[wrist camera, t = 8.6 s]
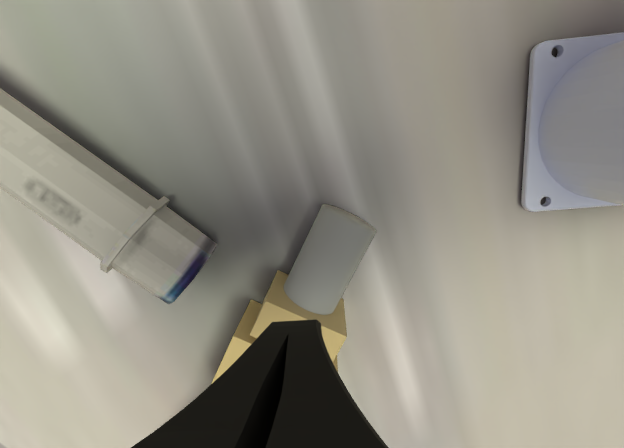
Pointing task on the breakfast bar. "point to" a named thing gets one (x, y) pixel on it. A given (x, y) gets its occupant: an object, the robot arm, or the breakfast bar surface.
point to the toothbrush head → (97, 205)
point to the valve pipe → (310, 284)
